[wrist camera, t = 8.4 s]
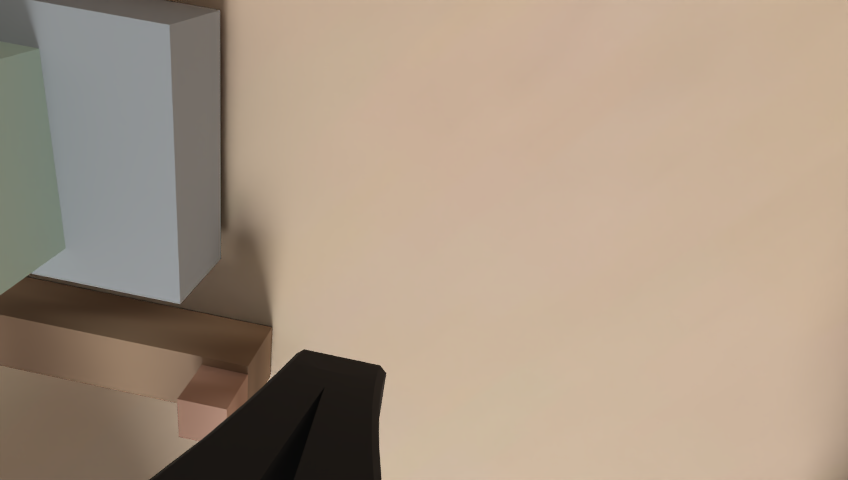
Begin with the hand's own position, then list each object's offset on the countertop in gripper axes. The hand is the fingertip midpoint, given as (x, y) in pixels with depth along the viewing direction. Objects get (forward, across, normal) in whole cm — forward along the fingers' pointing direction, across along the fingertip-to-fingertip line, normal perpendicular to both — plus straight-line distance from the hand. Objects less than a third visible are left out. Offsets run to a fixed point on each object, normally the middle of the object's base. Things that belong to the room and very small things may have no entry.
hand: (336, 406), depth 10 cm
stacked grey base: (+8, +10, -1) cm, 13 cm away
